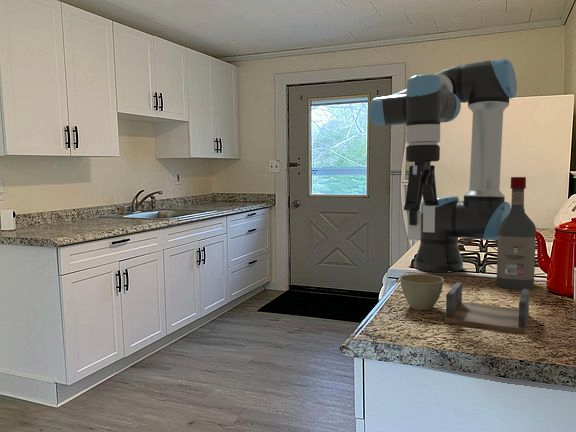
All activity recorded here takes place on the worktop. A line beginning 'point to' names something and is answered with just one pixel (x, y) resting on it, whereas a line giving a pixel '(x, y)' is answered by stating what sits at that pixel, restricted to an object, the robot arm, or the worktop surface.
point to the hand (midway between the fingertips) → (421, 235)
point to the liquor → (516, 243)
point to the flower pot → (421, 290)
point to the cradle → (486, 313)
